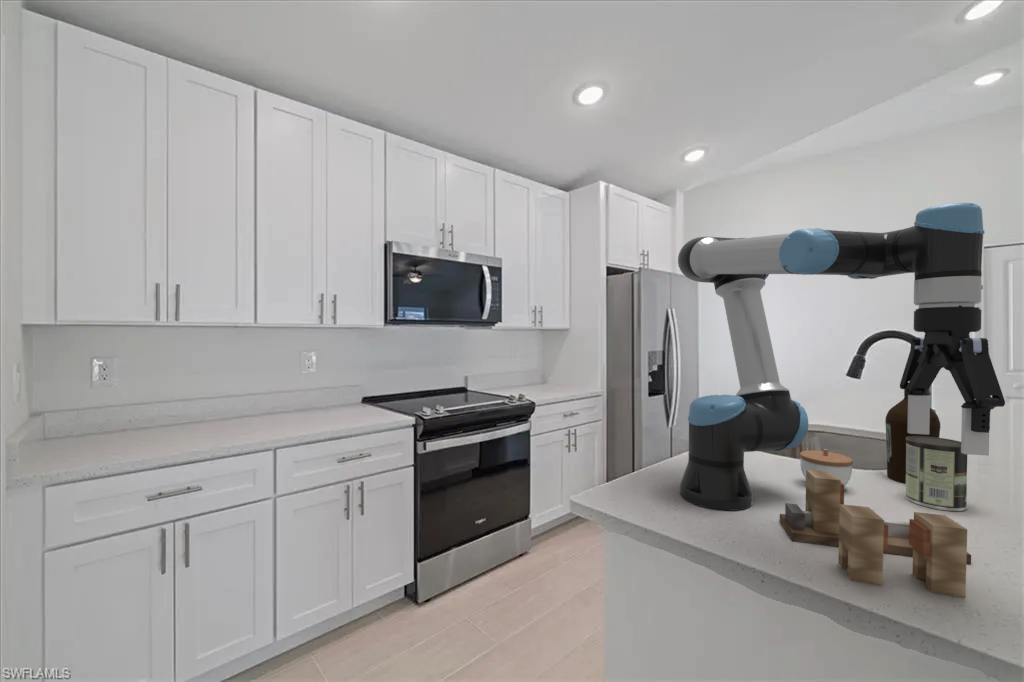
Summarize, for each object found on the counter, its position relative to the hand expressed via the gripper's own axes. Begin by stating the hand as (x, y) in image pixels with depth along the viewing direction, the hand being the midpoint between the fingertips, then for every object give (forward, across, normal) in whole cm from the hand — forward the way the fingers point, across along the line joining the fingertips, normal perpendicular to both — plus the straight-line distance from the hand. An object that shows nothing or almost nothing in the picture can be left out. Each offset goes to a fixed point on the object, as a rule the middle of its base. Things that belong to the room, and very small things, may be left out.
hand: (943, 443), depth 70 cm
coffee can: (+21, +38, -18) cm, 47 cm away
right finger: (+21, -2, +2) cm, 22 cm away
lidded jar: (+21, +42, +2) cm, 48 cm away
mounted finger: (+20, +12, +12) cm, 26 cm away
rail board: (+21, +12, +5) cm, 25 cm away
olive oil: (+21, +55, -22) cm, 63 cm away
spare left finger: (+21, -2, +12) cm, 24 cm away
